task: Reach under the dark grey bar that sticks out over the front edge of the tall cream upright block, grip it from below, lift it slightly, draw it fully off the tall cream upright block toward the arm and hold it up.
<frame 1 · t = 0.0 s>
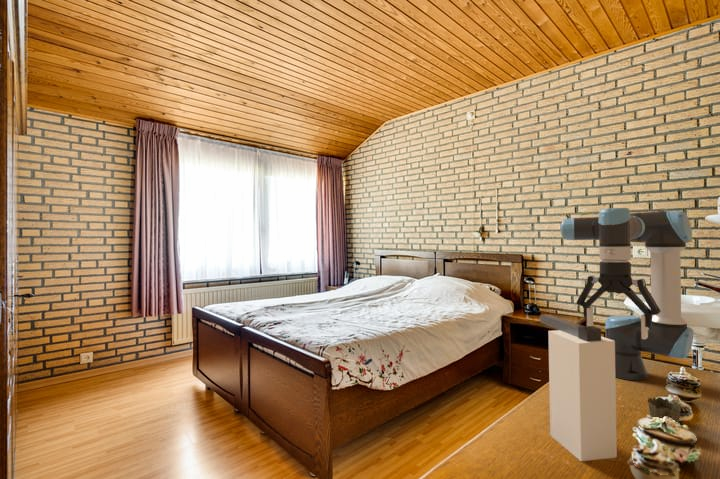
hand: (616, 333, 106), 28 cm above the dresser, tool pointing down, fingers open, 13 cm apart
dark grey bar: (567, 330, 102), point 30 cm above the dresser, touching tall cream upright block
tall cream upright block: (581, 445, 98), on the dresser
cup: (664, 430, 104), on the dresser
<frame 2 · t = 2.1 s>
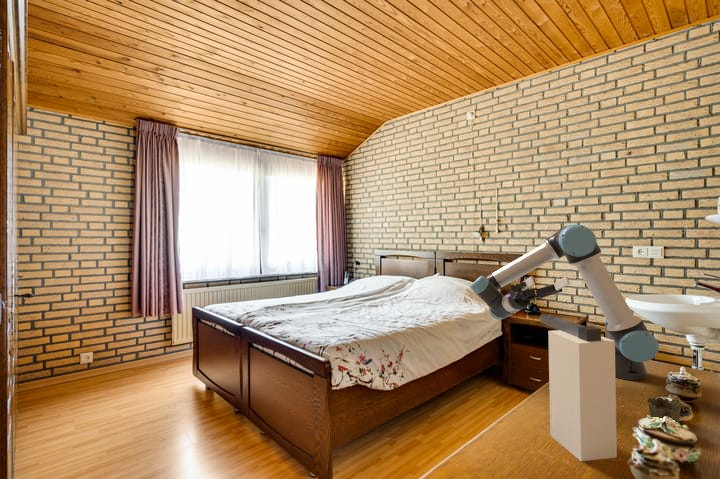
hand: (550, 280, 123), 42 cm above the dresser, tool pointing upward, fingers open, 13 cm apart
nothing on the dresser moved.
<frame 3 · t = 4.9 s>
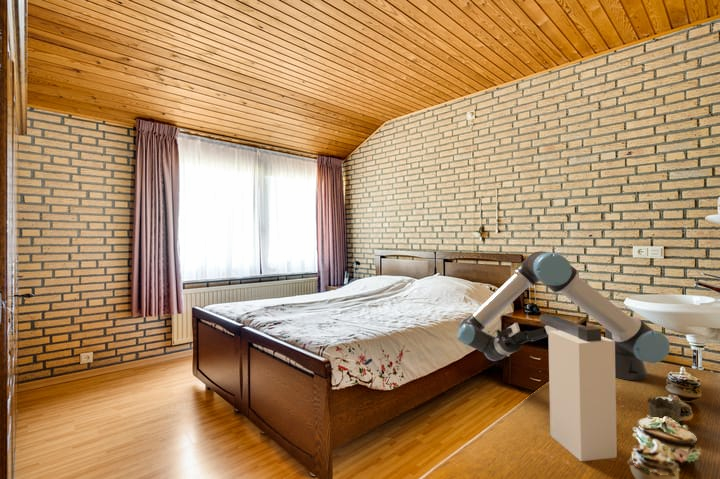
hand: (537, 325, 115), 28 cm above the dresser, tool pointing upward, fingers open, 13 cm apart
nothing on the dresser moved.
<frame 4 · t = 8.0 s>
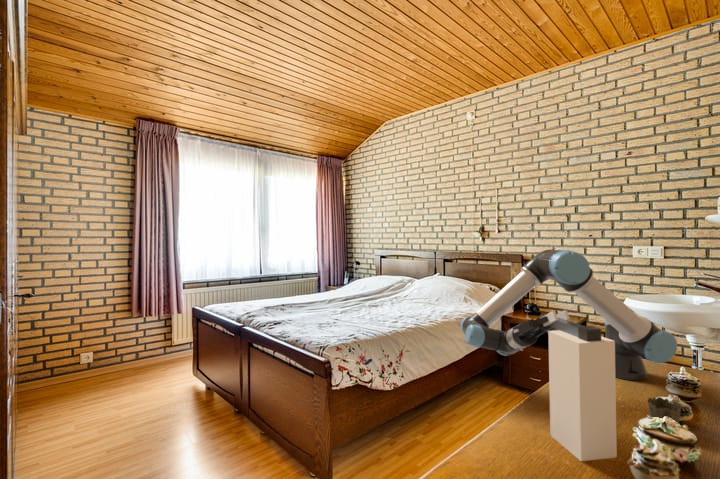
hand: (561, 314, 105), 34 cm above the dresser, tool pointing upward, fingers closed on dark grey bar, 3 cm apart
dark grey bar: (567, 330, 102), point 30 cm above the dresser, touching gripper, tall cream upright block
everything else where it was.
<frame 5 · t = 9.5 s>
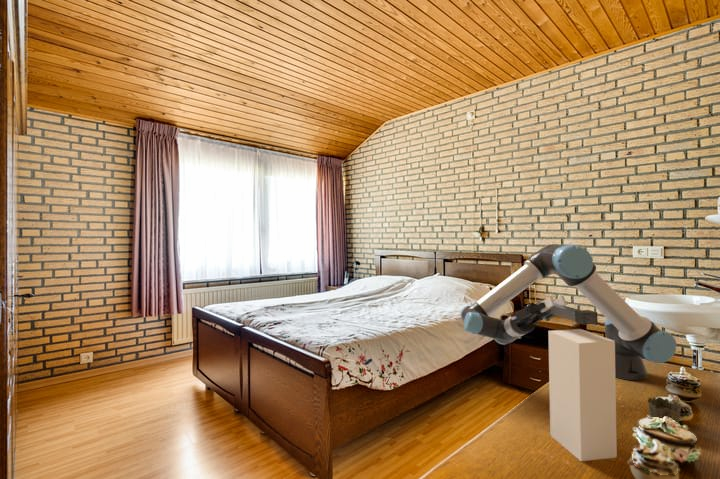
hand: (558, 300, 106), 38 cm above the dresser, tool pointing upward, fingers closed on dark grey bar, 3 cm apart
dark grey bar: (564, 315, 103), point 34 cm above the dresser, touching gripper
everything else where it was.
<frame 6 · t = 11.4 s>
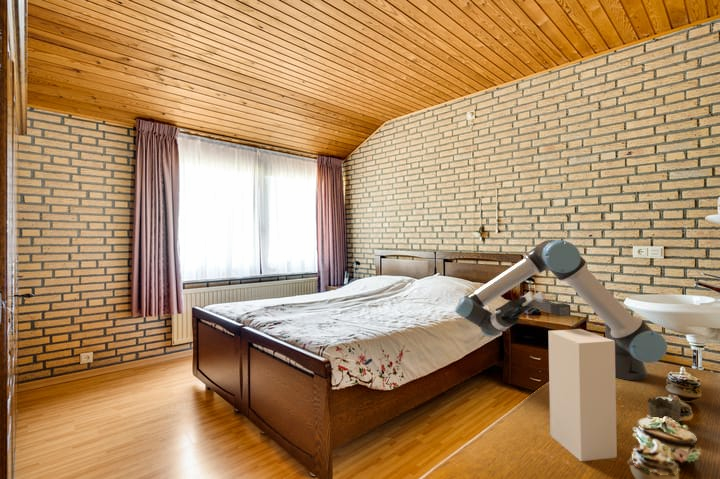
hand: (537, 295, 116), 38 cm above the dresser, tool pointing upward, fingers closed on dark grey bar, 3 cm apart
dark grey bar: (542, 308, 114), point 34 cm above the dresser, touching gripper
everything else where it was.
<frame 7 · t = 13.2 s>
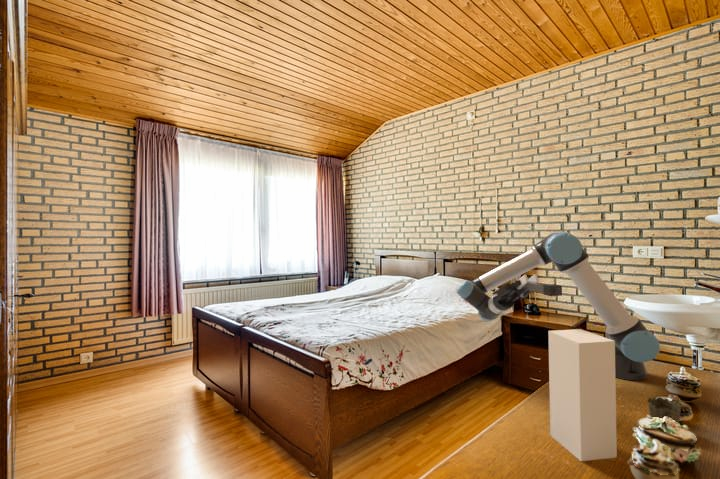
hand: (531, 278, 122), 43 cm above the dresser, tool pointing upward, fingers closed on dark grey bar, 3 cm apart
dark grey bar: (536, 290, 120), point 39 cm above the dresser, touching gripper
everything else where it was.
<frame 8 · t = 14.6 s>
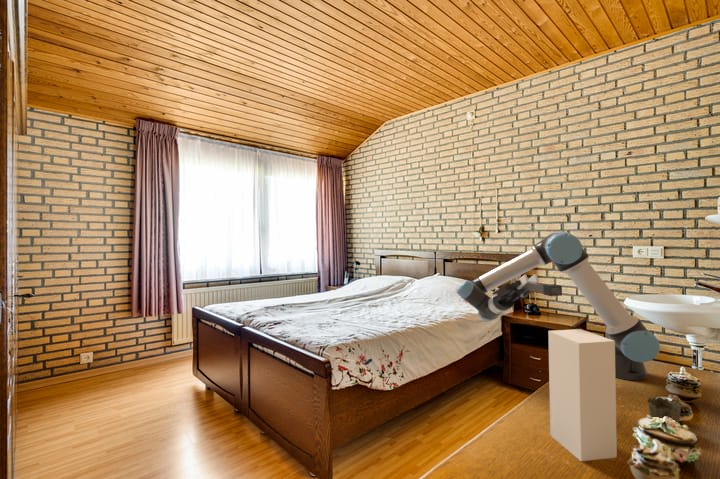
hand: (531, 278, 122), 43 cm above the dresser, tool pointing upward, fingers closed on dark grey bar, 3 cm apart
dark grey bar: (536, 290, 120), point 39 cm above the dresser, touching gripper
everything else where it was.
at the end: dark grey bar moved 19.5 cm from its start; dark grey bar touching gripper; the gripper is holding dark grey bar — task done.
